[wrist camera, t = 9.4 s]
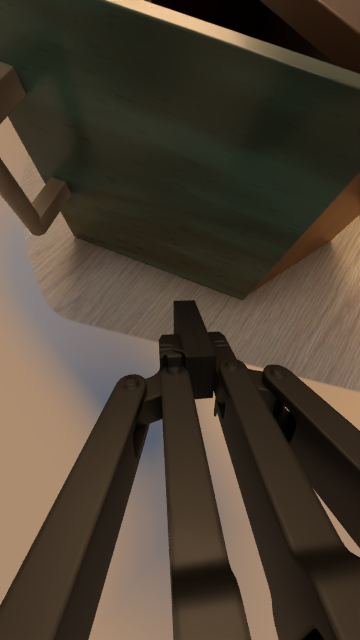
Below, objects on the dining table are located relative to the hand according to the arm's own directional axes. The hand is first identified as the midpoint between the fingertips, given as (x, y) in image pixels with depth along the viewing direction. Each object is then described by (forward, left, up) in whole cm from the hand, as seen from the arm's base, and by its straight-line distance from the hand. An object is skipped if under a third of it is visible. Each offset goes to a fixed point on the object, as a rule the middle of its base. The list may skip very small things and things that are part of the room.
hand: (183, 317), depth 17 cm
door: (+2, +8, -9) cm, 12 cm away
